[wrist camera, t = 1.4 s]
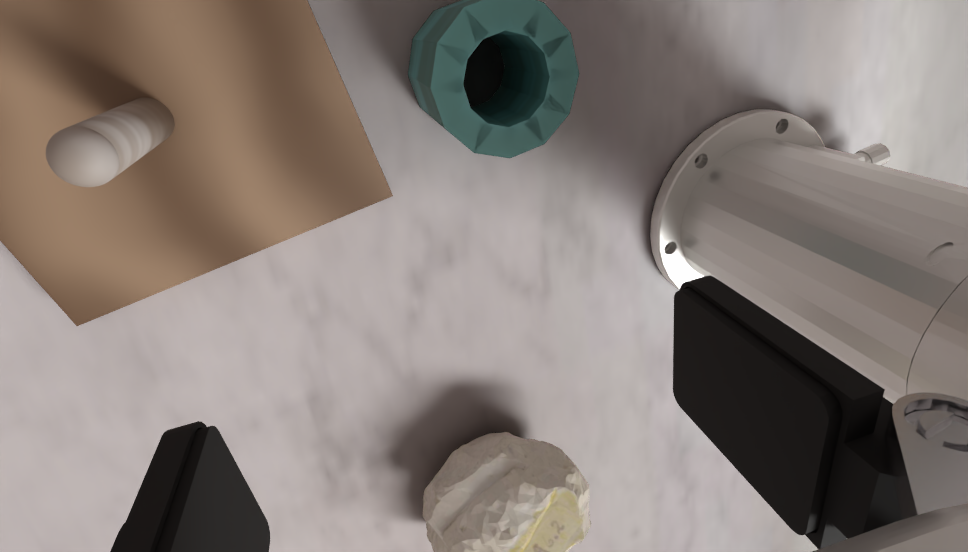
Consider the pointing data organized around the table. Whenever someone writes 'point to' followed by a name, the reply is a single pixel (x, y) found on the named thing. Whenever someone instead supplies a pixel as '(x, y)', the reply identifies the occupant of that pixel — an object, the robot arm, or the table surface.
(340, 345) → the table surface
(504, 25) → the bead
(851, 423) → the robot arm
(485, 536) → the fossil replica
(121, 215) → the spindle stand
